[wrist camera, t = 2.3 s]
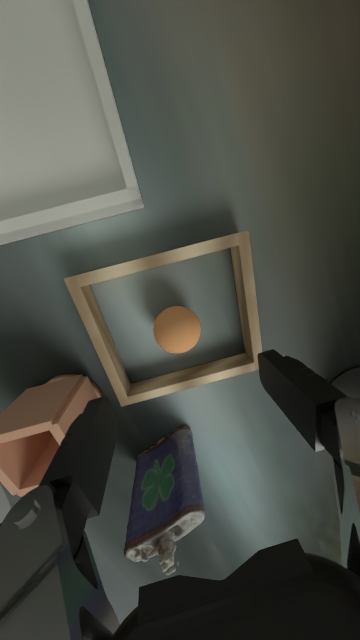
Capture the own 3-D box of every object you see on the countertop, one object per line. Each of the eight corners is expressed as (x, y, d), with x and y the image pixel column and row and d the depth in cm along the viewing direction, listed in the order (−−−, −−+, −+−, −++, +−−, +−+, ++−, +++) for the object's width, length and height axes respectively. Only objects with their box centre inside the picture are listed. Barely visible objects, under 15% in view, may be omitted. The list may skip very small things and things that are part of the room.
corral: (238, 233, 18) (248, 229, 16) (254, 357, 22) (264, 367, 20) (75, 276, 17) (63, 278, 15) (125, 392, 22) (121, 406, 20)
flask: (184, 421, 24) (200, 538, 14) (197, 433, 25) (221, 551, 15) (131, 458, 26) (112, 589, 15) (146, 468, 26) (136, 598, 16)
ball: (191, 296, 19) (199, 307, 15) (200, 335, 21) (210, 354, 16) (149, 307, 19) (145, 321, 15) (161, 345, 21) (160, 368, 16)
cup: (89, 366, 20) (55, 418, 14) (112, 414, 23) (92, 477, 16) (28, 383, 20) (-36, 443, 14) (57, 429, 23) (14, 499, 16)
